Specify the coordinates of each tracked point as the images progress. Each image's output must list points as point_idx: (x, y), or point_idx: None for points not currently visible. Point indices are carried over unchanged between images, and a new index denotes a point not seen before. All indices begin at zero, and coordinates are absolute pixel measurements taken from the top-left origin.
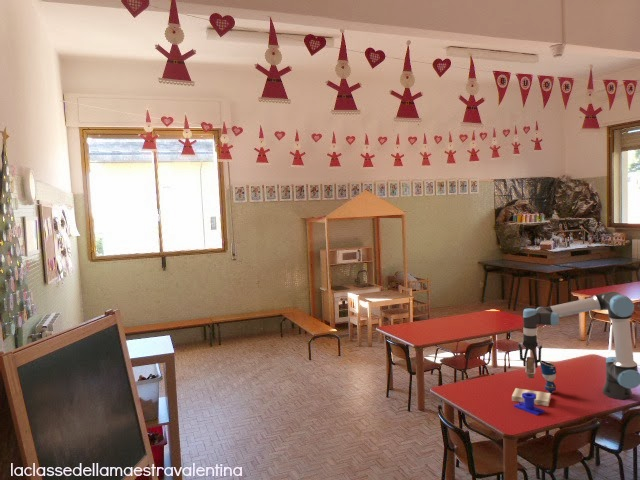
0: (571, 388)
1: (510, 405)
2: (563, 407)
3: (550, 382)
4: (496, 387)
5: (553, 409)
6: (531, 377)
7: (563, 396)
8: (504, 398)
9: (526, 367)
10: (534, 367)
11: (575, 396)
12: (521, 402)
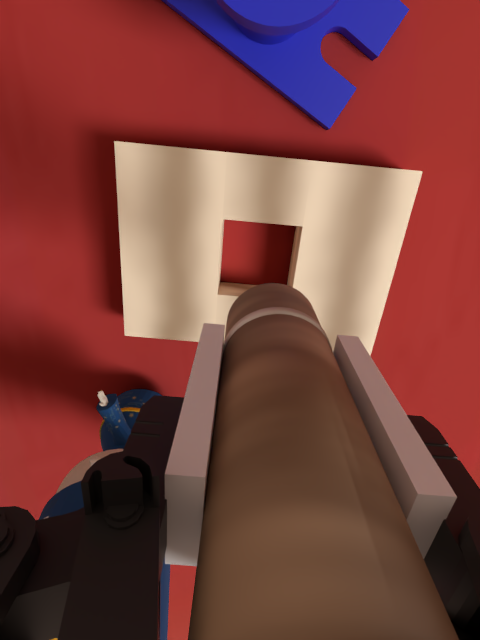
0: (53, 486)
1: (430, 42)
2: (22, 166)
3: (120, 441)
4: (477, 389)
5: (80, 87)
6: (259, 289)
7: (67, 369)
8: (456, 201)
9: (365, 386)
10: (200, 385)
11: (5, 389)
12: (335, 113)
